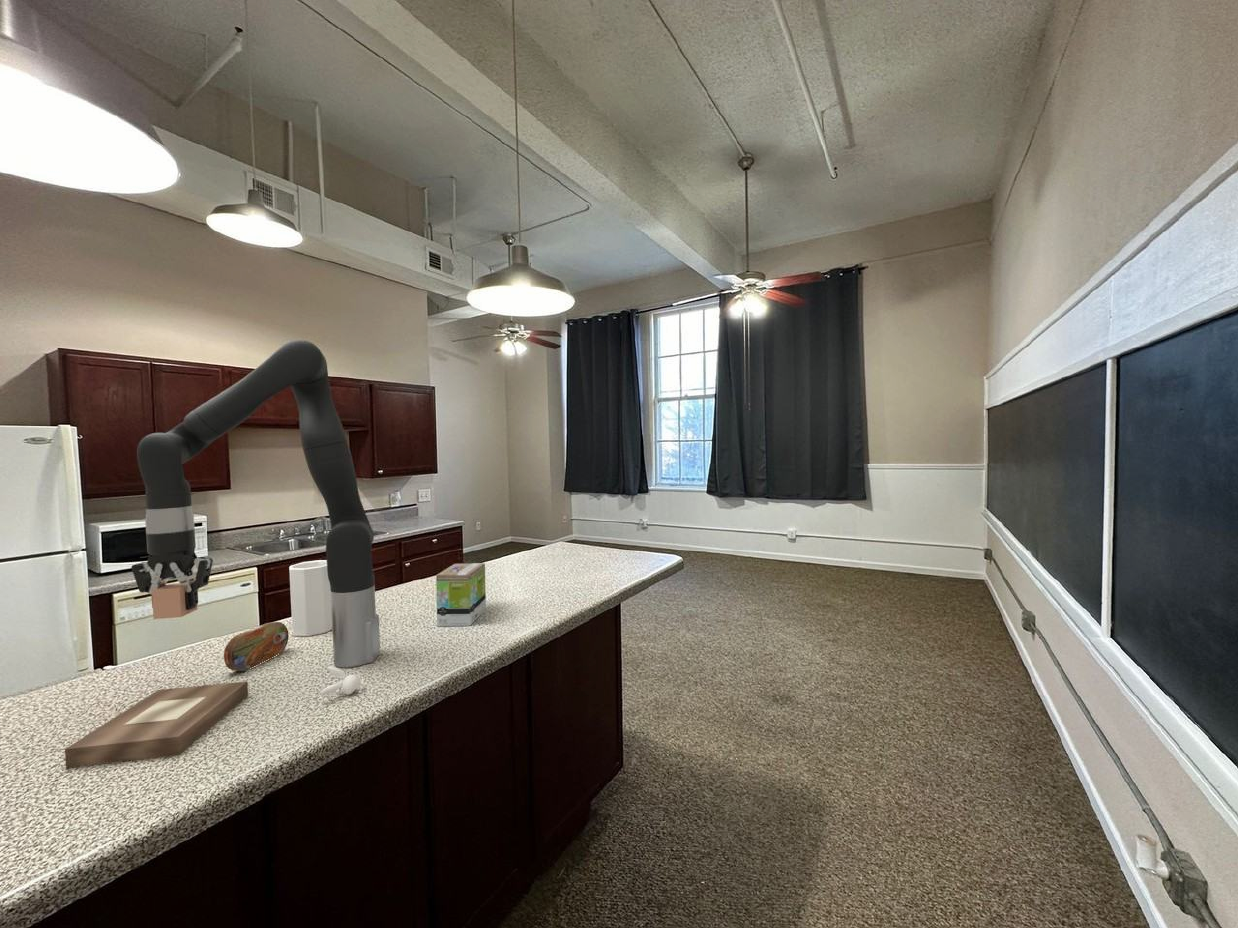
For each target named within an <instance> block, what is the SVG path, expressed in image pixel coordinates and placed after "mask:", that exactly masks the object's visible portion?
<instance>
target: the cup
mask: <svg viewBox="0 0 1238 928" xmlns="http://www.w3.org/2000/svg"><path fill="white" fill-rule="evenodd" d="M288 568H289V569H288V570H289V586H290V587H289V589H290V592H289V593H290V605H291V606H290V609H291V627H292V630H291V631H293V632H292V636H293V637H305V636H308V637H312V635H313V636H317V634H318V635H321V634H322V633H323V634H326V633H329V632H330V631H332V613H331V590H330V582H329V579H328V572H327V559H324V560H323V559H319V560H311V561H302V562H299V563H296V564H292V565H290V566H289V567H288Z"/></svg>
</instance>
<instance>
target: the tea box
mask: <svg viewBox="0 0 1238 928" xmlns="http://www.w3.org/2000/svg"><path fill="white" fill-rule="evenodd" d="M435 581H436V582H435V583H436V627H469V626H471V625H472V624H473V623H474V622H475V621H476V620H477V619H478V617H480V616H481V614H483V613H484V612H485V611H486V610H487V606H486V605H487V599H486V598H487V597H486V595H487V594H486V593H487V591H486V564H485V563H484V562H482V563H481V562H479V563H478V562H476V563H475V562H473V563H453V564H452V565H450V566H449V567H447V568H446V569H445V568H444V569H443V570H442V571H441V572H439V573H437V574H436V580H435Z"/></svg>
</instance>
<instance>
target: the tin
mask: <svg viewBox="0 0 1238 928" xmlns="http://www.w3.org/2000/svg"><path fill="white" fill-rule="evenodd" d="M289 637H290V636H289V629H288V627H287V626H286V625H285V623H283V622H280V621H273V622H266V623H264V624H261V625H259V626H256V627H254V628H251V629H249V630H247V631H244V632H242V633H239V634H237V635H235V636H234V637H232V638H231V639H230V640H229V641H228V643H227V644H226V645H225V647H224V651H223V659H224V660H223V661H224V663H225V666H226V667H227V668H228V669H229V670H232V671H239V672H246V670H248V669H250V668H252V667H254V666H256V665H258V664H260V663H262V662H264V661H266V660H268V659H270V658H272V657H274V656H276V655H278V654H280V655H281V654H282V653H283V652H284V651H285V649H286V647H287V644H288V642H289ZM278 656H279V655H278ZM272 659H273V658H272ZM270 660H271V659H270ZM268 661H269V660H268ZM266 662H267V661H266ZM264 663H265V662H264ZM262 664H263V663H262ZM260 665H261V664H260ZM258 666H259V665H258ZM256 667H257V666H256ZM254 668H255V667H254ZM252 669H253V668H252ZM250 670H251V669H250ZM248 671H249V670H248Z"/></svg>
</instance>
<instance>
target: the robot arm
mask: <svg viewBox="0 0 1238 928" xmlns="http://www.w3.org/2000/svg"><path fill="white" fill-rule="evenodd" d="M288 387H291V390H292V392H293V395H294V399H295V402H296V405H297V408H298V409H297V410H298V416H299V417H298V420H299V433H300V441H301V446H302V450H303V455H304V457H305V461H306V465H307V468H308V470H309V473H310V476H311V477H312V480H313V482H314V484H315V485H316V487H317V489H318V490H319V492H320V494H321V496H322V498H323V500H324V502H325V506H326V508H327V513H328V517H329V523H330V531H329V532H328V533H327V536H326V540H325V541H326V542H325V554H326V555H325V557H326V559H325V560H327V572H328V579H329V582H330V590H331V613H332V630H331V631H332V651H333V665H334V667H336V668H353V667H359V666H362V665H366V664H369V663H370V664H371V663H374V662H375V660H376V659H377V658H378V657H379V655H380V654H381V634H380V633H381V632H380V616H379V614H378V613H377V612H376V607H377V606H376V588H375V584H376V583H375V573H374V569H373V568H374V567H373V554H372V551H373V550H372V545H373V542H374V538H375V537H374V531H373V528H372V526H371V523H370V521H369V519H368V516H367V513H366V510H365V508H364V506H363V502H362V501H361V497H360V494H359V488H358V480H357V476H356V475H357V474H356V471H355V467H354V466H355V465H354V460H353V457H352V452H351V449H350V445H349V442H348V441H349V440H348V439H347V435H346V432H345V430H344V426H343V424H342V422H341V419H340V416H339V414H338V411H337V409H336V407H335V403H334V401H333V397H332V392H331V390H332V389H331V386H330V378H329V373H328V362H327V359H326V357H325V355H324V354H323V352H322V351H321V349H320V348H319V347H318V346H317V345H315V344H314V343H313V342H311V341H308V340H306V339H299V338H298V339H291V340H289V341H288V340H287V341H286V342H284V343H283V344H282V345H281V346H280V347H278V348H277V349H276V350H275V351H274V352H273V353H272V354H271V355H270V356H268V358H266V359H265V360H264V361H263V362H262V363H261V364H260V365H258V366H257V367H256V368H255V369H253V370H251V372H250V373H248V374H247V375H246V376H244V377H243V378H242V379H240V380H239V381H237V382H236V383H234V384H233V385H231V386H229V387H228V388H226V389H225V390H223V391H221V392H220V393H219V394H217V395H215V396H214V397H212V398H210V399H209V400H207V401H206V402H204V403H203V404H201V405H199V406H198V407H196V408H195V409H193V410H192V411H190V412H189V413H187V414H186V415H185V417H183V422H181V423H179V424H178V425H176V426H175V427H173V428H171V429H170V430H169V431H167V432H153V433H150V434H148V435H145V436H144V437H143V438H142V439H141V440H140V441H139V443H138V445H137V449H136V457H137V458H136V459H137V463H138V468H139V473H140V476H141V478H142V482H143V483H144V488H145V506H146V511H145V513H146V514H145V535H146V539H145V540H146V550H147V551H146V552H147V554H148V555H149V557H148V559H147V561H143V562H139V563H135V564H133V565H131V567H130V568H131V571H132V574H133V577H134V579H135V582H136V585H137V588H138V591H139V592H140V593H146V594H147V593H148V594H150V596H151V597H152V590H153V589H156V588H159V587H161V586H165V585H167V584H168V581H170V578H172V579H177V581H178V582H177V583H181V584H182V586H184V590H185V591H186V593H185V607H186V610H191V609H193V608H195V607H196V605H197V606H198V604H199V592H198V591H199V589H200V588H203V587H205V586H208V585H209V581H210V577H211V573H212V572H211V571H212V568H213V563H214V560H213V559H212V558H210V557H208V558H201V557H200V558H199V557H198V556H197V555H196V553H195V549H196V530H195V518H194V517H195V515H194V512H193V511H194V510H193V508H192V507H193V506H192V492H191V491H192V490H191V484H190V483H189V481H188V480H187V479H185V475H184V474H185V473H184V468H183V464H186V463H187V462H190V461H191V460H193V459H194V458H195V457H196V456H197V455H199V454H200V453H201V452H202V451H203V450H205V449H206V448H207V447H208V446H210V444H211V443H212V442H214V441H215V440H217V439H219V438H221V437H222V436H223V435H225V434H227V433H229V432H230V431H231V430H233V429H235V428H236V427H237V426H240V424H242V423H243V422H244V421H246V420H247V419H248V418H249V417H251V416H252V415H253V414H254V413H255V412H256V411H258V409H259V408H260V407H261V406H262V405H263V404H265V403H266V402H267V401H269V400H270V399H271V398H272V397H274V396H275V395H277V394H279V393H281V392H282V391H284V390H285V389H287V388H288ZM194 566H195V569H196V573H195V571H194V569H193V568H194ZM150 570H151V571H153V575H152V574H151V572H150ZM151 607H152V609H153V602H152V601H151Z"/></svg>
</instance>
